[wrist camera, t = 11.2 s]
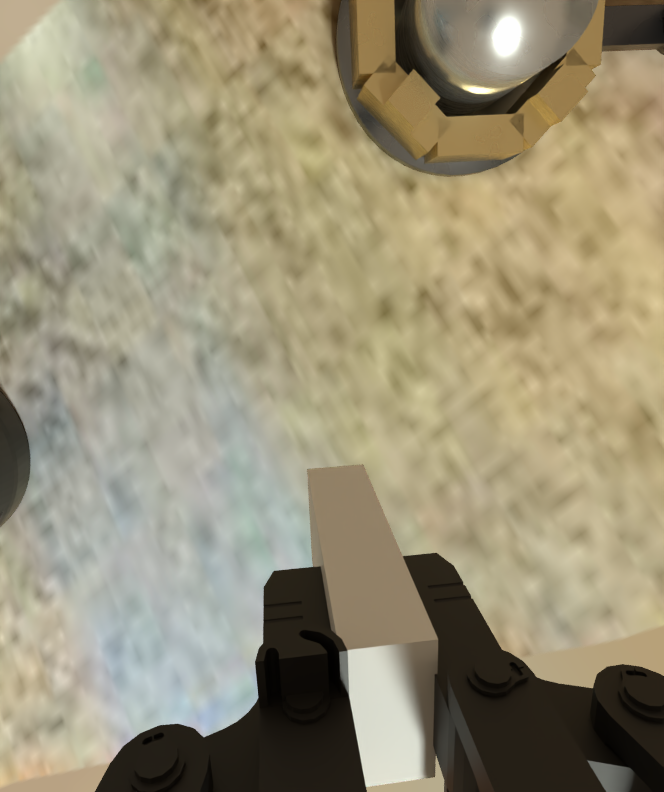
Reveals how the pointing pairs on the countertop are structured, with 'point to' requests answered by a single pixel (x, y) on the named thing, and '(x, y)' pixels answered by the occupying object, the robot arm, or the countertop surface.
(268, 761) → the robot arm
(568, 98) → the tan handled ring
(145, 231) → the countertop surface
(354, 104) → the housing
